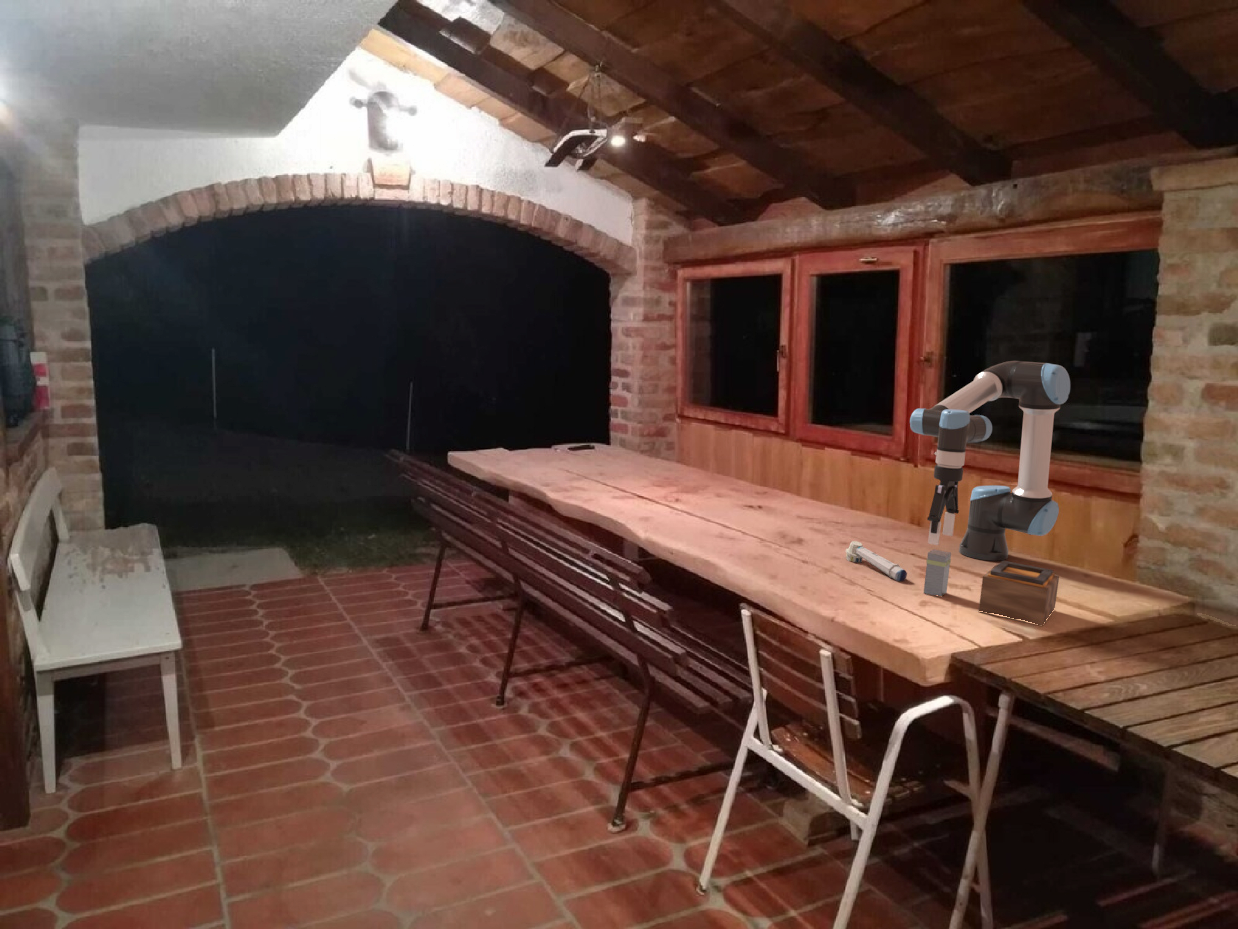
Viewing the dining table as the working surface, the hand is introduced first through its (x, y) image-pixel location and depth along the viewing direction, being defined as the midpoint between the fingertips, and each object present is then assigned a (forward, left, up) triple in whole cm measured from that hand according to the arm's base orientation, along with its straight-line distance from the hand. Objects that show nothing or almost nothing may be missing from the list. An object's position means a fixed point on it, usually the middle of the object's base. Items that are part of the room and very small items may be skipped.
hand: (940, 539), depth 257 cm
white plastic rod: (-11, -22, -16) cm, 29 cm away
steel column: (0, 0, -16) cm, 16 cm away
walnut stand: (0, +22, -16) cm, 27 cm away
